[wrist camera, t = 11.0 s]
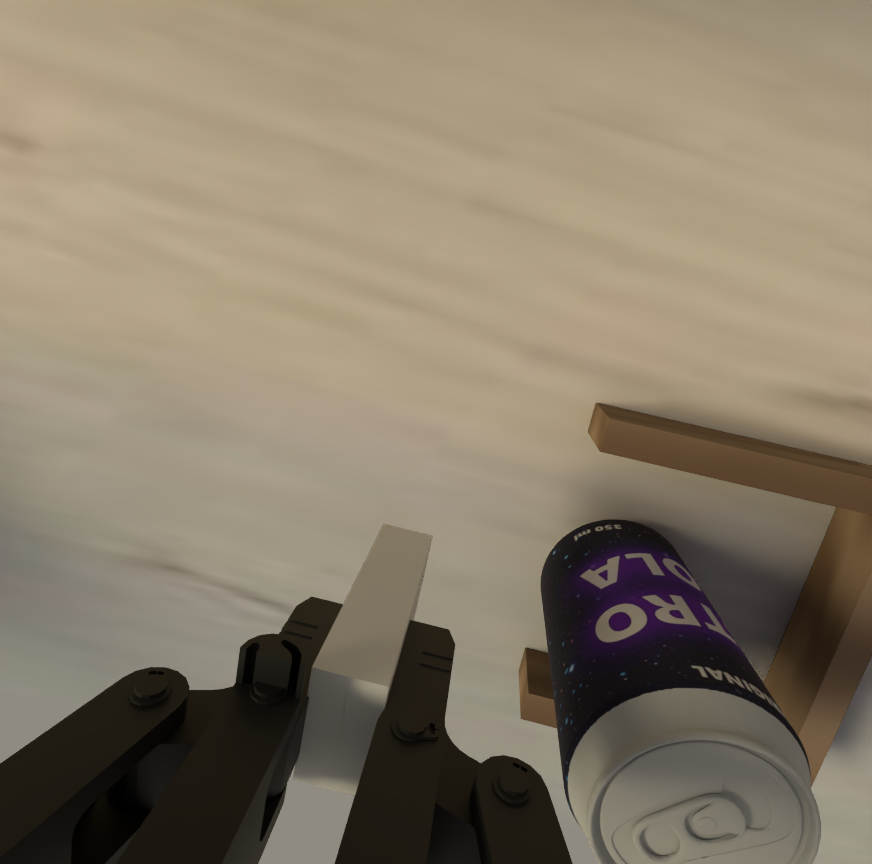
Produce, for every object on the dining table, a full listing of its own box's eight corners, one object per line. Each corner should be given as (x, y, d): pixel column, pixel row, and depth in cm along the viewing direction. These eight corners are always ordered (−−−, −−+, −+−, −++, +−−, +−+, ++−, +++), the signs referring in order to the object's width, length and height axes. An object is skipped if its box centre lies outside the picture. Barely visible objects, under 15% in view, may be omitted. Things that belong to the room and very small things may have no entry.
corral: (596, 402, 23) (609, 418, 20) (887, 469, 22) (945, 495, 19) (518, 671, 26) (520, 718, 23) (773, 736, 25) (807, 794, 22)
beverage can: (703, 600, 24) (887, 885, 12) (580, 656, 25) (643, 962, 14) (638, 486, 23) (769, 678, 12) (514, 550, 25) (521, 780, 13)
